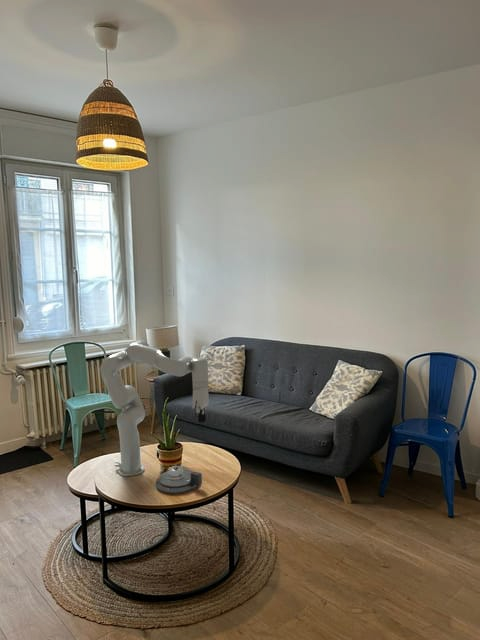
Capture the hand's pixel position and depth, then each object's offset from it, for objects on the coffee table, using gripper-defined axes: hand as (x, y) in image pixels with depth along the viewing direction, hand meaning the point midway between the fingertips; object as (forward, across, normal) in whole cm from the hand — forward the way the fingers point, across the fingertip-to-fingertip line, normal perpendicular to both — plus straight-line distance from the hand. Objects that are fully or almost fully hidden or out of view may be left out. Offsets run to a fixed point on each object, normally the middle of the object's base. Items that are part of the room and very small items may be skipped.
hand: (202, 421), depth 227 cm
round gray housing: (+25, +12, -8) cm, 29 cm away
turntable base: (+27, +11, -9) cm, 31 cm away
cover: (+23, +12, -10) cm, 28 cm away
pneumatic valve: (+27, -4, -20) cm, 34 cm away
